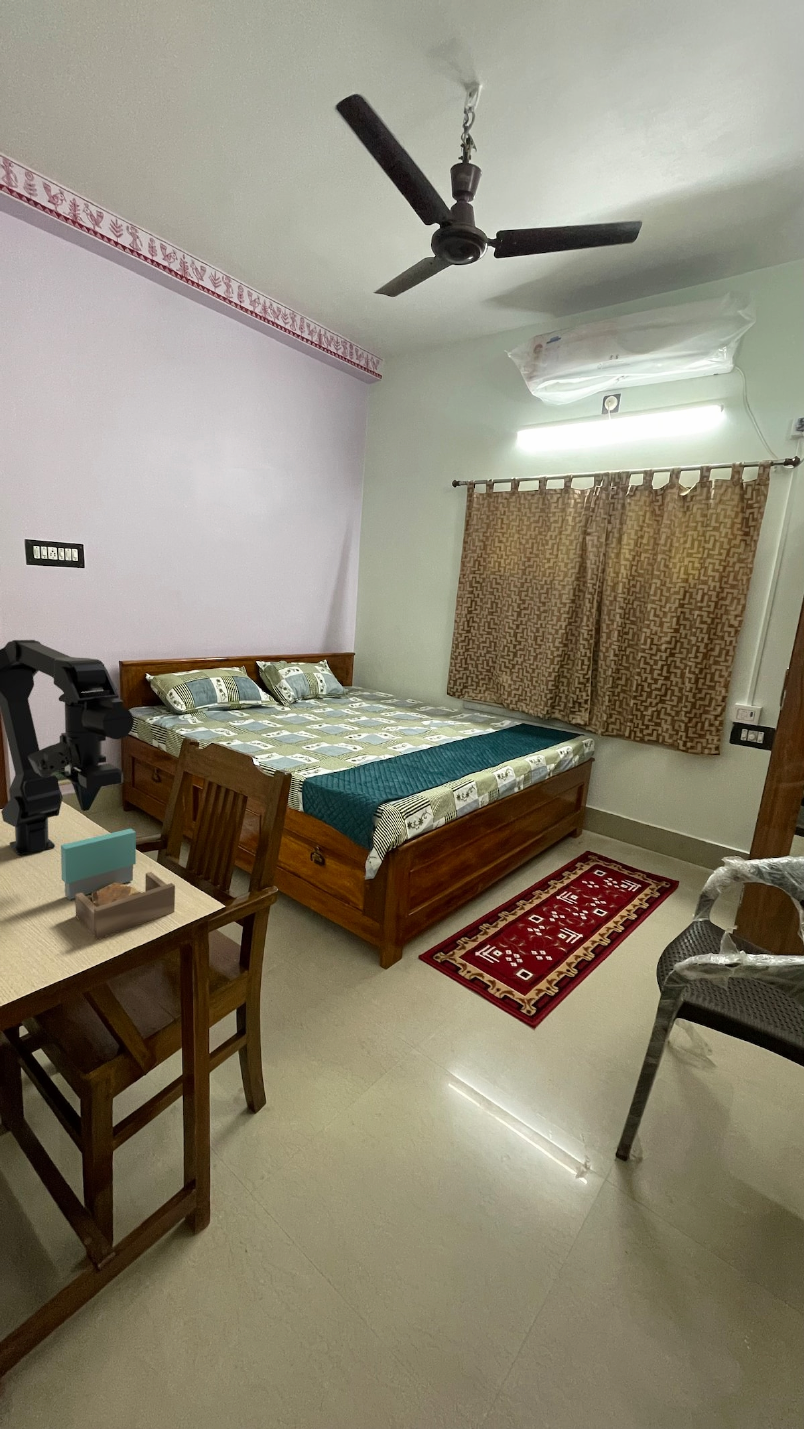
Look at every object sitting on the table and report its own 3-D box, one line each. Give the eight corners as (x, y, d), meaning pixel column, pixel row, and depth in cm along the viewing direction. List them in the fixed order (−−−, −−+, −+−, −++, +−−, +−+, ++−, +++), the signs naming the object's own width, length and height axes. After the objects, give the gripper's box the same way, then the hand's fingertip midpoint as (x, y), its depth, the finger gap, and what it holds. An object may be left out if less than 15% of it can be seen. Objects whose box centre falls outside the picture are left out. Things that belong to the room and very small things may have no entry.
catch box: (75, 916, 95) (75, 888, 94) (150, 891, 105) (151, 866, 104) (97, 939, 90) (97, 911, 89) (174, 911, 100) (175, 885, 99)
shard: (94, 929, 93) (94, 919, 93) (59, 917, 96) (59, 907, 95) (144, 899, 103) (144, 890, 103) (111, 888, 106) (111, 879, 105)
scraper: (62, 896, 100) (60, 845, 98) (130, 875, 109) (130, 828, 107) (66, 900, 99) (65, 849, 97) (135, 879, 108) (135, 832, 106)
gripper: (14, 723, 103) (18, 805, 105) (53, 746, 91) (56, 837, 94) (80, 717, 111) (82, 793, 114) (124, 737, 99) (124, 821, 102)
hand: (85, 810), depth 106 cm, fingers closed
